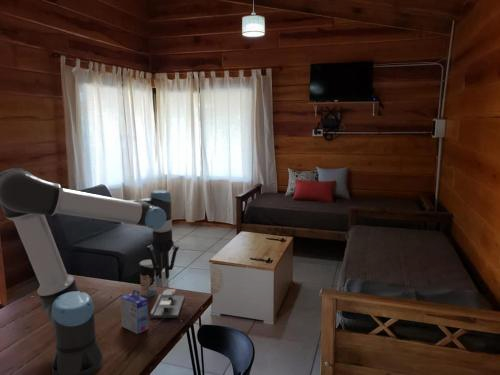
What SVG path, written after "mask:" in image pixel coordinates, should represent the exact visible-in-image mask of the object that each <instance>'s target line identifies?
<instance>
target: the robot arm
mask: <svg viewBox="0 0 500 375" xmlns="http://www.w3.org/2000/svg"><path fill="white" fill-rule="evenodd" d="M0 207H1V210H2V212H3V214H4V216H5V217H4V218H6V219H7V220H10V221H12V222H13V223H14V225H15V227H16V230H17V233H18V235H19V238H20V240H21V242H22V245H23V247H24V249H25V252H26V254H27V256H28V260H29V262H30V264H31V267H32V270H33V272H34V273H35V276H36V279H37V281H38V283H39V287H38V288H37V290H36V293H37V295H38V297H39V299H40V303H41V305H40V306H41V307H42V309H43V311H44V313H45V314H46V315H47V318H48V320H49V321H50V323H51V325H52V327H53V331H54V340H55V341H54V342H55V343H54V344H55V352H54V355H53V356H54V357H53V359H52V362H51V363H52V364H51V374H52V375H94V374H96V373H97V372H98V371H99V370H100V369H101V368H102V367H103V364H104V355H103V351H102V349H101V347H100V345H99V344H98V341H97V338H96V324H95V305H94V302H93V299H92V297H91V296H90V294H88V293H87V292H83V291H82V292H81V291H80V290H79V287H78V284H77V281H76V280H75V276H73V275H71V274H68V272H67V270H66V267H65V264H64V262H63V259H62V257H61V254H60V251H59V249H58V247H57V244H56V241H55V239H54V236H53V234H52V230H51V228H50V226H49V224H48V220H47V217H46V216H50V217H51V216H54V215H55V214H60V215H61V214H62V215H68V216H75V217H82V218H89V219H96V220H103V221H109V222H117V223H123V224H131V225H136V226H141V227H143V226H144V227H147V228H148V229H152V242H151V244H149V245H148V246H147V247H146V251H147V252H148V254H149V257H150V260H151V261H152V264H153V268H154V270H155V271H158V279H160V280H161V287H162V288H166V287H167V286H168V279H169V277H170V271H172V270H173V268H174V265H175V261H176V257H177V252H178V250H179V249H180V245H176V244H175V243H174V242H175V241H174V240H173V230H172V228H173V220H172V219H173V218H172V197H171V192H170V191H169V190H166V189H159V190H158V189H157V190H152V191H150V196H148V197H144V198H135V199H128V200H126V199H120V198H115V197H112V196H111V197H110V196H106V195H105V196H104V195H102V194H96V193H95V194H94V193H89V192H85V191H79V190H76V189H68V188H64V187H62V186H61V184H60V183H57V182H52V181H51V182H50V181H48V180H45V179H42V178H40V177H37V176H36V175H34V174H33V173H32V172H30V171H29V170H27V169H24V168H16V167H15V168H9V169H6V170H3V171H2V172H1V173H0ZM171 249H172V250H173V251H172V253H171V254H172V255H171V260H170V258H169V253H170V250H171ZM155 251H156V253H157V257H156V255H155ZM163 256H164V257H163ZM163 258H164V260H163ZM163 263H164V264H163ZM163 265H164V267H163Z"/></svg>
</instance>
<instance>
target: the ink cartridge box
mask: <svg viewBox="0 0 500 375" xmlns="http://www.w3.org/2000/svg"><path fill="white" fill-rule="evenodd" d="M140 292H141V291H138V290H136V289H133V291H132V292H130V293H128V294H125V295H123V296H121V297H120V307H121V308H120V309H121V310H120V311H121V327H122V328H123V329H124V328H125V329H127V330H129V331H131V332H132V333H135V334H137V335H139V334H141V333H143V332H145V331H147V330H149V308H148V305H149V304H148V301H149V300H148V298H146V297H144V296H142V295H141V296H140ZM135 293H136V294H135Z"/></svg>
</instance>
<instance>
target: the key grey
mask: <svg viewBox="0 0 500 375" xmlns="http://www.w3.org/2000/svg"><path fill="white" fill-rule="evenodd" d="M161 294H162V298H172V296H173V290H163V291H162V293H161Z"/></svg>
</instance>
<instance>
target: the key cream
mask: <svg viewBox="0 0 500 375" xmlns="http://www.w3.org/2000/svg"><path fill="white" fill-rule="evenodd" d="M170 305H171V300H161V302H160V308H170Z"/></svg>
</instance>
